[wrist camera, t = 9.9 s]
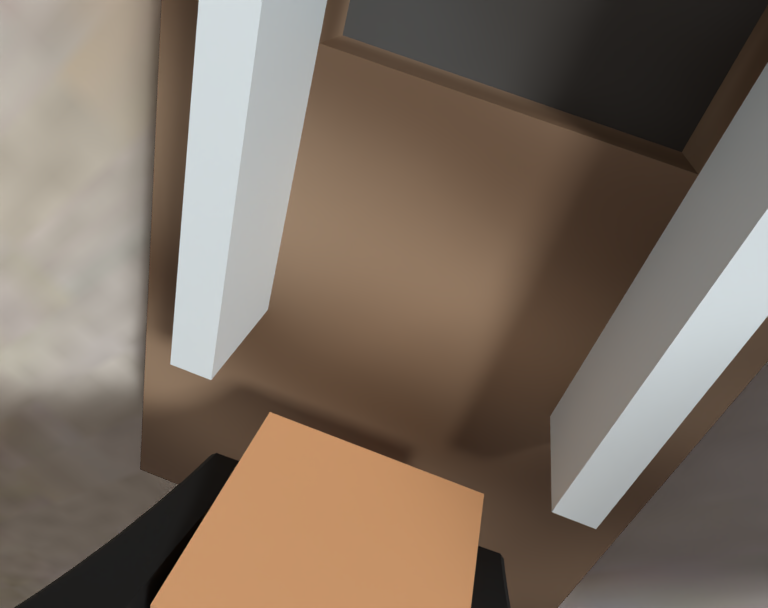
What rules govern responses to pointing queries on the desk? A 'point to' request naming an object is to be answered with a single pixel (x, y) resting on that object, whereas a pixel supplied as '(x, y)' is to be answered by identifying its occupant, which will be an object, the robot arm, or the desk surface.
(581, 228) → the trap deck
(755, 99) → the white slats
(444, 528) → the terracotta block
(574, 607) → the desk surface
